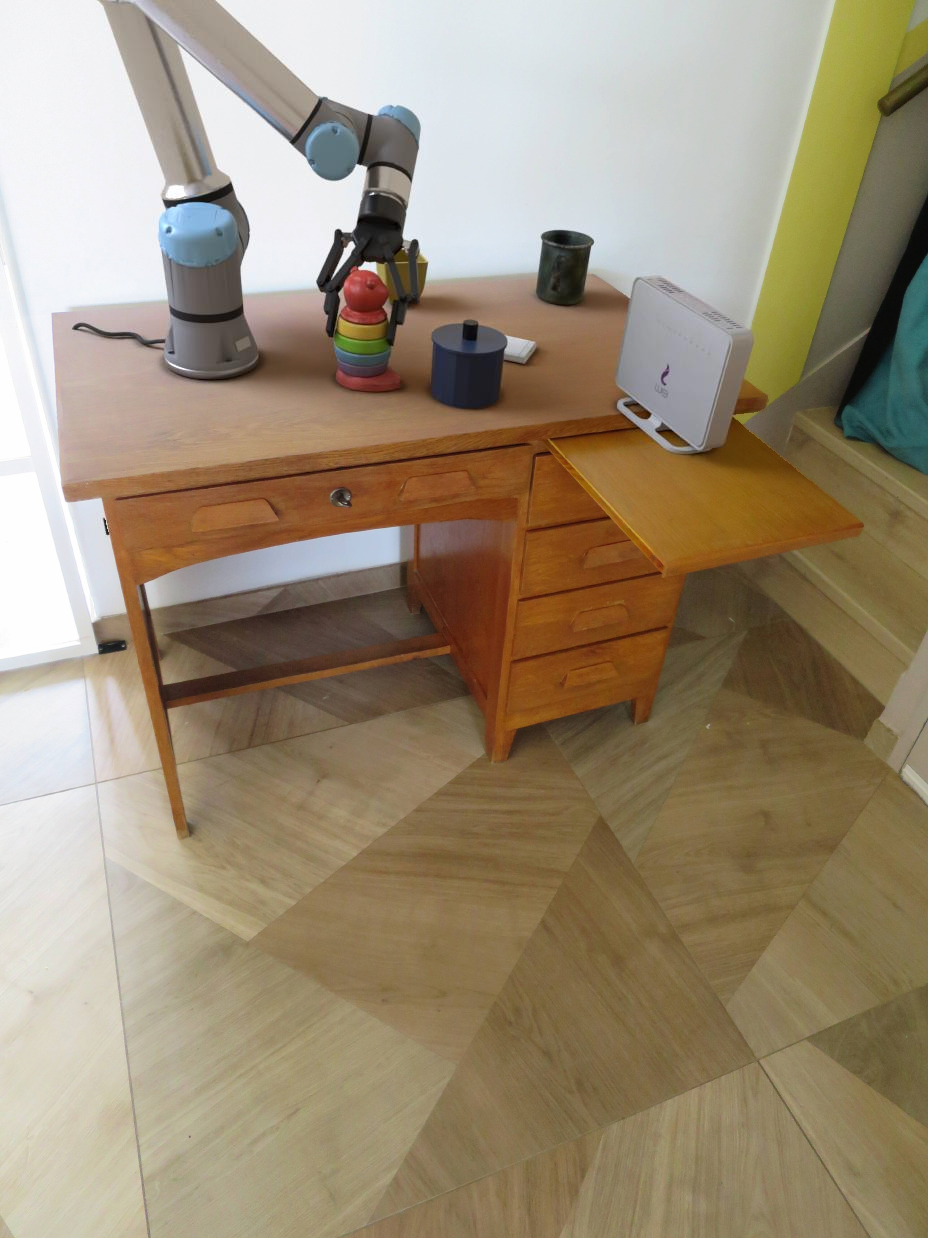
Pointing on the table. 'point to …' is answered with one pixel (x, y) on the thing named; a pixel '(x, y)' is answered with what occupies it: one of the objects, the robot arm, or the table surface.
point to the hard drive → (518, 349)
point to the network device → (681, 364)
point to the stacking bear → (364, 335)
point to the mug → (563, 266)
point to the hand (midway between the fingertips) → (359, 338)
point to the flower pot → (402, 274)
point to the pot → (466, 378)
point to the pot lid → (469, 339)
